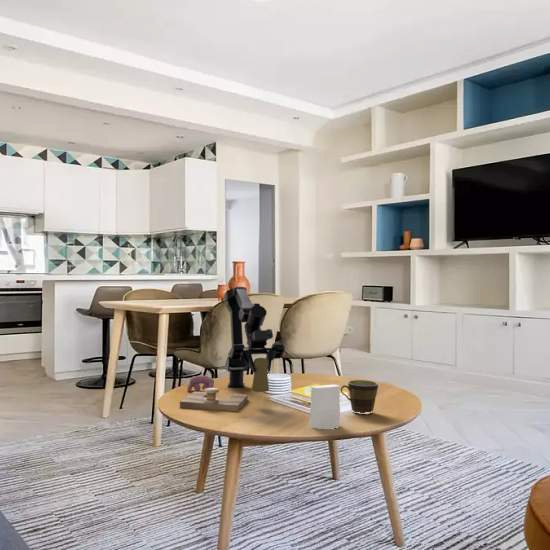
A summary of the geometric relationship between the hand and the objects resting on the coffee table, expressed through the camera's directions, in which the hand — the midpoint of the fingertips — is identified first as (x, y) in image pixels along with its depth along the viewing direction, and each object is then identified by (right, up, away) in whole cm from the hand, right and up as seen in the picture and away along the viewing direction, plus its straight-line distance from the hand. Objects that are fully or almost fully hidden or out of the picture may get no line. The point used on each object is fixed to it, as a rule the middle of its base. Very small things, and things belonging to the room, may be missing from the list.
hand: (261, 371), depth 185 cm
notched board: (-16, -12, +3) cm, 21 cm away
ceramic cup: (+32, -13, -4) cm, 35 cm away
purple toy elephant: (-24, -12, +23) cm, 35 cm away
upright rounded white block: (+20, -13, -20) cm, 31 cm away
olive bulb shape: (-1, -7, +1) cm, 7 cm away
